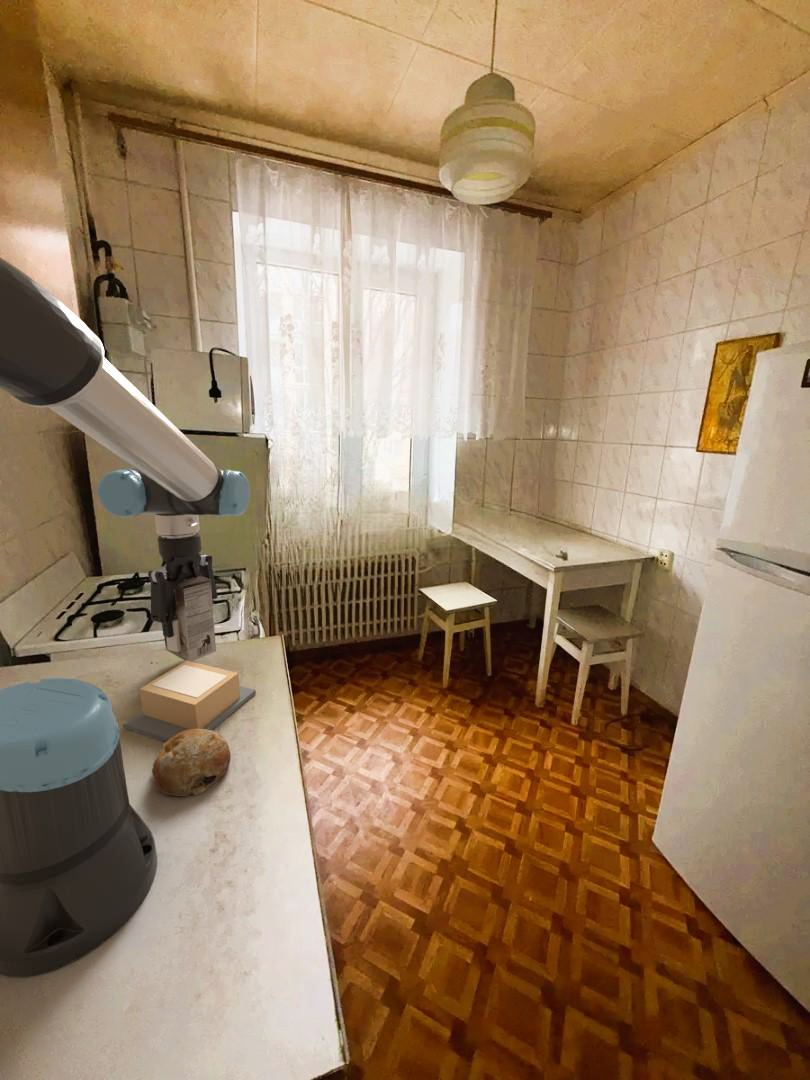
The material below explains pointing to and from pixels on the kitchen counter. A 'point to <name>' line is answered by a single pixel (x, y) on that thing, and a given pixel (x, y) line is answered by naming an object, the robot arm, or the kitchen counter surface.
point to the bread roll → (191, 762)
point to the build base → (188, 700)
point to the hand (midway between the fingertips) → (190, 641)
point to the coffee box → (194, 618)
